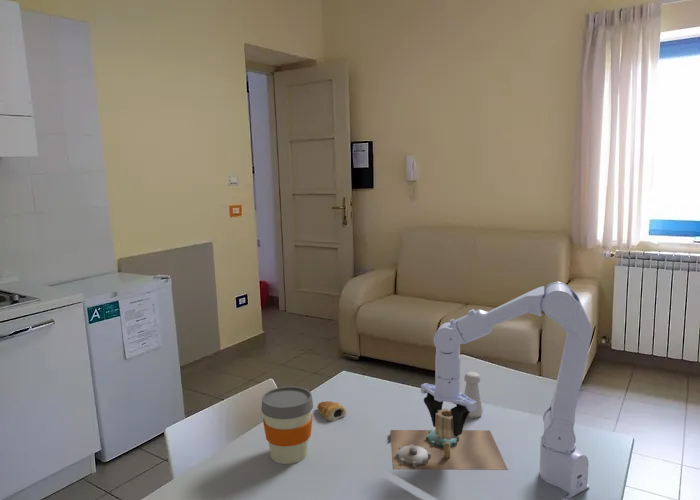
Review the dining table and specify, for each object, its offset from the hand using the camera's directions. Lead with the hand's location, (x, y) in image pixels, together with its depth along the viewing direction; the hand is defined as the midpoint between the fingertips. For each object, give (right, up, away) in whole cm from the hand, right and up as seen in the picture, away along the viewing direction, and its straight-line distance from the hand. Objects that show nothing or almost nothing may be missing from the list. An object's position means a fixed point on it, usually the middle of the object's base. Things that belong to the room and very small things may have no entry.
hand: (447, 429), depth 121 cm
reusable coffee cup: (-38, -8, +6) cm, 39 cm away
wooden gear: (0, -1, 0) cm, 1 cm away
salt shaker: (+11, -5, +23) cm, 26 cm away
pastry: (-28, -5, +26) cm, 39 cm away
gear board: (0, -7, +5) cm, 9 cm away
